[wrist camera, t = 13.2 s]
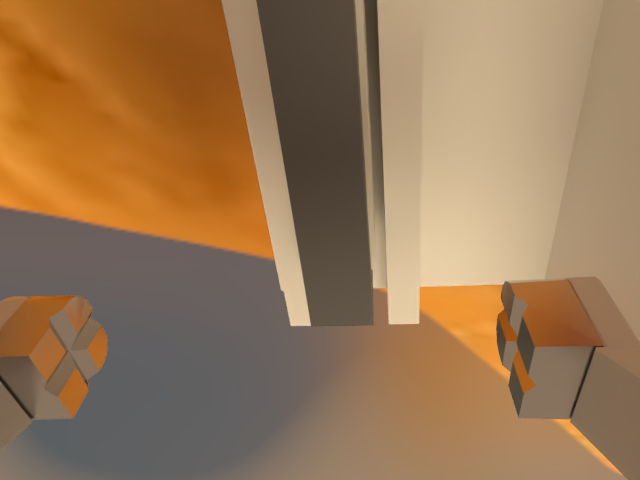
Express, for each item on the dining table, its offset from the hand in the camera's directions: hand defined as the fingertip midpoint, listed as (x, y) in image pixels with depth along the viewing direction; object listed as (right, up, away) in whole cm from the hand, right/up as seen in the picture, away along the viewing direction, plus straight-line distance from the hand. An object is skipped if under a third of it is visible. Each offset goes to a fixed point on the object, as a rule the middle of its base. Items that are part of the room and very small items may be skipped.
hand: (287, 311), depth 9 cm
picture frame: (+1, +8, +12) cm, 15 cm away
